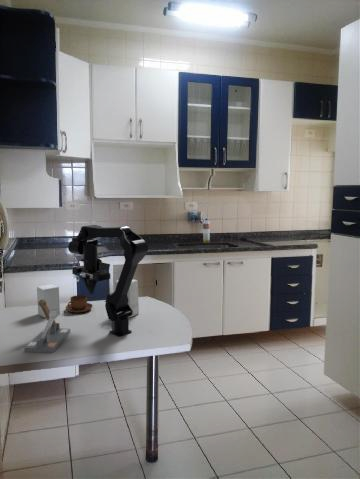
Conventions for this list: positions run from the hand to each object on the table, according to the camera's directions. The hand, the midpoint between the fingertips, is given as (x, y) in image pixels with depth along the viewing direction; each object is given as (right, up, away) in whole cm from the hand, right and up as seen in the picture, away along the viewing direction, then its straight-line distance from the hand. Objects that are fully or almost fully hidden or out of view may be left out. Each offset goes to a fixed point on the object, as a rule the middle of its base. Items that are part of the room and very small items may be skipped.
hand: (91, 293), depth 170 cm
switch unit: (-12, -16, -17) cm, 26 cm away
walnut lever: (-12, -12, -11) cm, 20 cm away
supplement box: (-22, -11, +14) cm, 28 cm away
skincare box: (+13, -11, +14) cm, 22 cm away
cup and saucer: (-10, -11, +20) cm, 24 cm away
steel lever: (-12, -14, -24) cm, 30 cm away
